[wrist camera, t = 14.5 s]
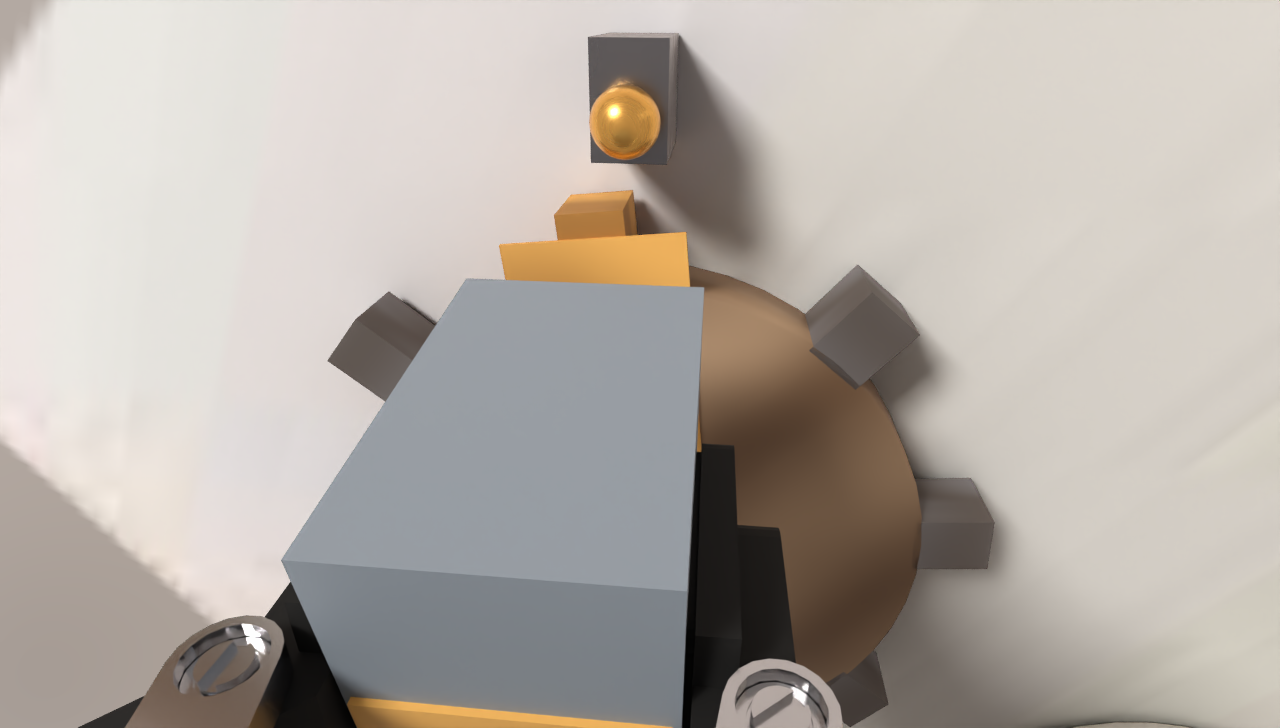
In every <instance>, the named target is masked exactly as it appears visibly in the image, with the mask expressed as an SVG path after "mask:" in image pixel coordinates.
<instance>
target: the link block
mask: <svg viewBox="0 0 1280 728" xmlns="http://www.w3.org/2000/svg"><path fill="white" fill-rule="evenodd" d="M703 304H704V287H679V286H652V285H626V284H599V283H572V282H545V281H519V280H492V279H466V280H465V282H464V283H463V285H462V286H461V288H460V289H459V291H458V292H457V294H456V295H455V297H454V298H453V300H452V301H451V303H450V305H449V306H448V308H447V309H446V311H445V312H444V314H443V315H442V317H441V318H440V320H439V321H438V323H437V324H436V326H435V327H434V329H433V330H432V332H431V333H430V335H429V336H428V338H427V339H426V341H425V342H424V344H423V346H422V347H421V349H420V350H419V352H418V353H417V355H416V356H415V358H414V359H413V361H412V362H411V364H410V365H409V367H408V368H407V370H406V371H405V373H404V374H403V376H402V377H401V379H400V380H399V382H398V383H397V385H396V387H395V388H394V390H393V391H392V393H391V394H390V396H389V397H388V399H387V400H386V402H385V403H384V405H383V406H382V408H381V409H380V411H379V412H378V414H377V415H376V417H375V418H374V420H373V421H372V423H371V424H370V426H369V428H368V429H367V431H366V432H365V434H364V435H363V437H362V438H361V440H360V441H359V443H358V444H357V446H356V447H355V449H354V450H353V452H352V453H351V455H350V456H349V458H348V459H347V461H346V462H345V464H344V465H343V467H342V469H341V470H340V472H339V473H338V475H337V476H336V478H335V479H334V481H333V482H332V484H331V485H330V487H329V488H328V490H327V491H326V493H325V494H324V496H323V497H322V499H321V500H320V502H319V503H318V505H317V506H316V508H315V510H314V511H313V513H312V514H311V516H310V517H309V519H308V520H307V522H306V523H305V525H304V526H303V528H302V529H301V531H300V532H299V534H298V535H297V537H296V538H295V540H294V541H293V543H292V544H291V546H290V547H289V549H288V551H287V552H286V554H285V555H284V557H283V558H282V560H281V561H282V563H283V565H284V568H285V570H286V572H287V574H288V576H289V579H290V581H291V583H292V585H293V587H294V590H295V592H296V594H297V596H298V599H299V601H300V603H301V605H302V607H303V610H304V612H305V614H306V616H307V618H308V621H309V623H310V625H311V627H312V630H313V632H314V634H315V636H316V638H317V641H318V643H319V645H320V647H321V649H322V652H323V654H324V656H325V658H326V661H327V663H328V665H329V667H330V669H331V672H332V674H333V676H334V678H335V680H336V683H337V685H338V687H339V689H340V692H341V694H342V696H343V698H344V700H345V703H346V705H347V707H348V709H349V711H350V714H351V716H352V718H353V720H354V723H355V725H356V727H357V728H682V717H683V694H684V671H685V648H686V627H687V609H688V591H689V573H690V555H691V537H692V519H693V501H694V483H695V465H696V452H697V438H698V416H699V394H700V371H701V349H702V327H703Z"/></svg>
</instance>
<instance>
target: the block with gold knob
mask: <svg viewBox="0 0 1280 728" xmlns="http://www.w3.org/2000/svg"><path fill="white" fill-rule="evenodd" d="M678 45H679V33H606V34H601V35H596V36H591V37H588V55H589V95H590V119H589V124H590V136H591V163H623V164H660V165H667V163H668V160H669V158H670V155H671V152H672V150H673V147H674V144H675V142H676V116H677V81H678Z"/></svg>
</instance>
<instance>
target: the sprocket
mask: <svg viewBox="0 0 1280 728" xmlns="http://www.w3.org/2000/svg"><path fill="white" fill-rule="evenodd" d="M554 218H555V225H556V231H557V238H558V240H557V241H542V242H526V243H511V244H500V245H499V248H500V253H501V259H502V264H503V269H504V274H505V279H506V280H519V281H545V282H572V283H599V284H626V285H652V286H679V287H704V304H703V327H702V349H701V371H700V394H699V416H698V438H697V452H701V448H702V443H704V444H721V445H734V449H735V474H736V499H737V525H747V526H762V527H776V528H779V530H780V534H781V541H782V550H783V558H784V567H785V575H786V584H787V592H788V600H789V609H790V617H791V626H792V634H793V642H794V651H795V659H796V664H799V665H801V666H804V667H806V668H807V669H809V670H810V671H812V672H813V673H815V674H816V675H818V676H819V677H820V678H821V679H822V680H823V681H824V682H825V683H826V684H827V685H828V686H829V687H830V689H831V690H832V691H833V693H834V695H835V697H836V699H837V701H838V703H839V705H840V709H841V715H842V722H844V723H845V724H846V725H848V726H849V727H851V726H853V725H854V724H856V723H858V722H860V721H861V720H863V719H865V718H866V717H868V716H870V715H871V714H873V713H875V712H876V711H878V710H880V709H881V708H883V707H885V706H886V705H888V700H887V696H886V692H885V687H884V683H883V679H882V675H881V670H880V666H879V662H878V658H877V653H876V652H875V651H874V649H875V648H876V646H877V645H878V644H879V643H880V641H881V640H882V639H883V638H884V636H885V635H886V634H887V633H888V631H889V630H890V629H891V627H892V626H893V624H894V622H895V620H896V619H897V617H898V615H899V613H900V612H901V610H902V608H903V606H904V605H905V603H906V600H907V598H908V595H909V592H910V590H911V587H912V584H913V581H914V579H915V576H916V571H917V569H987V567H988V561H989V554H990V548H991V542H992V535H993V529H994V521H993V519H992V517H991V515H990V513H989V511H988V509H987V508H986V506H985V504H984V502H983V500H982V498H981V496H980V494H979V492H978V490H977V489H976V487H975V485H974V483H973V481H972V479H971V478H937V479H914V476H913V473H912V470H911V467H910V464H909V461H908V458H907V455H906V453H905V450H904V448H903V445H902V443H901V440H900V438H899V436H898V433H897V431H896V428H895V426H894V423H893V421H892V418H891V416H890V414H889V412H888V410H887V408H886V406H885V404H884V402H883V400H882V399H881V397H880V395H879V393H878V391H877V389H876V387H875V385H874V384H873V382H872V381H871V380H870V377H871V376H873V375H874V374H875V373H876V372H877V371H878V370H880V369H881V368H882V367H883V366H884V365H886V364H887V363H888V362H889V361H890V360H891V359H893V358H894V357H895V356H896V355H897V354H898V353H900V352H901V351H902V350H903V349H904V348H905V347H907V346H908V345H909V344H910V343H911V342H913V341H914V340H915V339H916V338H917V337H918V336H920V334H919V333H918V331H917V329H916V328H915V326H914V324H913V323H912V321H911V319H910V318H909V316H908V314H907V313H906V311H905V309H904V308H903V306H902V304H901V303H900V302H899V301H898V300H897V299H895V298H894V297H893V296H892V295H891V294H890V293H889V292H888V291H887V290H885V289H884V288H883V287H882V286H881V285H880V284H879V283H878V282H877V281H875V280H874V279H873V278H872V277H871V276H870V275H869V274H868V273H867V272H865V271H864V270H863V269H862V268H861V267H860V266H859V265H857V266H856V267H855V268H853V269H852V270H851V271H850V272H849V273H848V274H847V275H846V276H845V277H844V278H843V279H842V280H841V281H840V282H839V283H838V284H837V285H836V286H834V287H833V288H832V289H831V290H830V291H829V292H828V293H827V294H826V295H825V296H824V297H823V298H822V299H821V300H820V301H819V302H818V303H817V304H815V305H814V306H813V307H812V308H811V309H810V310H809V311H808V312H807V313H806V314H804V313H802V312H801V311H800V310H798V309H797V308H795V307H793V306H791V305H789V304H788V303H786V302H784V301H782V300H780V299H779V298H777V297H775V296H773V295H772V294H770V293H768V292H766V291H764V290H762V289H759V288H757V287H754V286H752V285H749V284H747V283H744V282H742V281H739V280H737V279H734V278H732V277H729V276H727V275H723V274H719V273H715V272H711V271H707V270H703V269H700V268H696V267H692V266H689V263H688V249H687V235H686V232H678V233H663V234H648V235H637V225H636V215H635V205H634V195H633V190H630V191H616V192H603V193H590V194H576V195H570V197H569V198H568V199H567V200H566V201H565V203H564V204H563V205H562V206H561V207H560V209H559V210H558V211H557V212H556V213H555V215H554ZM434 327H435V325H434V324H432V323H431V322H430V321H428V320H427V319H425V318H424V317H423V316H421V315H420V314H419V313H417V312H416V311H415V310H413V309H412V308H411V307H409V306H408V305H407V304H405V303H404V302H403V301H401V300H400V299H398V298H397V297H396V296H394V295H393V294H392V293H390V292H388V293H386V294H385V295H384V296H383V297H382V298H380V299H379V300H378V301H377V302H376V303H375V304H373V305H372V306H371V307H370V308H369V309H367V310H366V311H365V312H364V313H363V314H361V315H360V316H359V317H358V318H357V319H355V321H354V322H353V324H352V325H351V327H350V328H349V330H348V331H347V333H346V334H345V336H344V337H343V339H342V340H341V342H340V343H339V345H338V346H337V347H336V349H335V350H334V352H333V353H332V355H331V356H330V358H329V359H328V362H330V363H331V364H333V365H334V366H336V367H337V368H338V369H340V370H341V371H343V372H344V373H346V374H347V375H348V376H350V377H351V378H353V379H354V380H356V381H357V382H358V383H360V384H361V385H363V386H364V387H366V388H367V389H368V390H370V391H371V392H373V393H374V394H376V395H377V396H378V397H380V398H381V399H383V400H384V401H386V400H387V399H388V397H389V396H390V394H391V393H392V391H393V390H394V388H395V387H396V385H397V383H398V382H399V380H400V379H401V377H402V376H403V374H404V373H405V371H406V370H407V368H408V367H409V365H410V364H411V362H412V361H413V359H414V358H415V356H416V355H417V353H418V352H419V350H420V349H421V347H422V346H423V344H424V342H425V341H426V339H427V338H428V336H429V335H430V333H431V332H432V330H433V329H434Z"/></svg>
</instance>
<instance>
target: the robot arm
mask: <svg viewBox="0 0 1280 728" xmlns="http://www.w3.org/2000/svg"><path fill="white" fill-rule="evenodd" d="M78 728H357V727H356V725H355V723H354V720H353V718H352V716H351V714H350V711H349V709H348V707H347V705H346V703H345V700H344V698H343V696H342V694H341V692H340V689H339V687H338V685H337V683H336V680H335V678H334V676H333V674H332V672H331V669H330V667H329V665H328V663H327V661H326V658H325V656H324V654H323V652H322V649H321V647H320V645H319V643H318V641H317V638H316V636H315V634H314V632H313V630H312V627H311V625H310V623H309V621H308V618H307V616H306V614H305V612H304V610H303V607H302V605H301V603H300V601H299V599H298V596H297V594H296V592H295V590H294V587H293V585H292V583H291V582H290V583H289V585H288V586H287V587H286V589H285V590H284V592H283V593H282V594H281V596H280V597H279V598H278V600H277V601H276V603H275V604H274V605H273V607H272V608H271V609H270V611H269V612H268V613H267V615H266V616H265V617H262V616H247V615H246V616H240V617H234V618H228V619H226V620H223V621H220V622H217V623H215V624H212V625H209V626H208V627H206V628H204V629H202V630H201V631H199V632H197V633H195V634H194V635H192V636H191V637H189V638H188V639H187V640H186V641H185V642H183V643H182V644H181V645H180V646H179V647H177V648H176V650H175V651H174V652H173V653H172V655H171V656H170V657H169V658H168V659H167V661H166V662H165V664H164V666H163V667H162V669H161V670H160V672H159V673H158V675H157V677H156V678H155V680H154V682H153V683H152V685H151V686H150V688H149V690H148V691H147V693H146V695H145V696H143V697H141V698H139V699H137V700H135V701H133V702H131V703H129V704H126V705H125V706H122V707H120V708H118V709H116V710H114V711H112V712H110V713H108V714H105V715H103V716H102V717H99V718H97V719H95V720H93V721H91V722H89V723H87V724H85V725H82V726H80V727H78ZM682 728H843V722H842V715H841V709H840V705H839V703H838V701H837V699H836V697H835V695H834V693H833V691H832V690H831V689H830V687H829V686H828V685H827V684H826V683H825V682H824V681H823V680H822V679H821V678H820V677H819V676H818V675H816V674H815V673H813V672H812V671H810V670H809V669H807V668H806V667H804V666H801V665H799V664H796V659H795V651H794V642H793V634H792V626H791V617H790V609H789V600H788V592H787V584H786V575H785V567H784V558H783V550H782V541H781V534H780V530H779V528H776V527H762V526H747V525H737V499H736V474H735V449H734V445H721V444H704V443H702V448H701V452H696V465H695V483H694V501H693V519H692V537H691V555H690V573H689V591H688V609H687V627H686V648H685V671H684V694H683V717H682ZM1073 728H1190V727H1184V726H1176V725H1168V724H1160V723H1151V722H1113V723H1104V724H1095V725H1085V726H1077V727H1073Z"/></svg>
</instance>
